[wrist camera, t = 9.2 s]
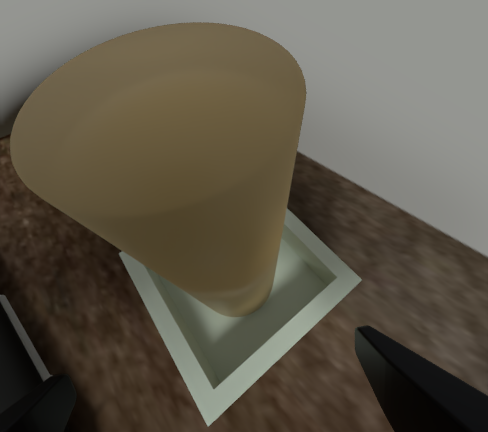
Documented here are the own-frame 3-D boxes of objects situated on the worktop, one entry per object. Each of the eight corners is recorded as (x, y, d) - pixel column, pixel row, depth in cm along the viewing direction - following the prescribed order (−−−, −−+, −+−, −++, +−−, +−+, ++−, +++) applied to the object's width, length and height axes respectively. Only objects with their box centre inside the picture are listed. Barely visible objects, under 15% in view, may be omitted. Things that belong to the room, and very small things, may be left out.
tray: (345, 290, 16) (362, 279, 14) (218, 410, 13) (207, 426, 11) (249, 192, 21) (247, 170, 18) (139, 266, 18) (118, 253, 15)
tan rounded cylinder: (289, 282, 16) (373, 93, 4) (227, 335, 15) (57, 302, 3) (242, 228, 18) (203, 2, 6) (185, 270, 17) (-13, 89, 5)
